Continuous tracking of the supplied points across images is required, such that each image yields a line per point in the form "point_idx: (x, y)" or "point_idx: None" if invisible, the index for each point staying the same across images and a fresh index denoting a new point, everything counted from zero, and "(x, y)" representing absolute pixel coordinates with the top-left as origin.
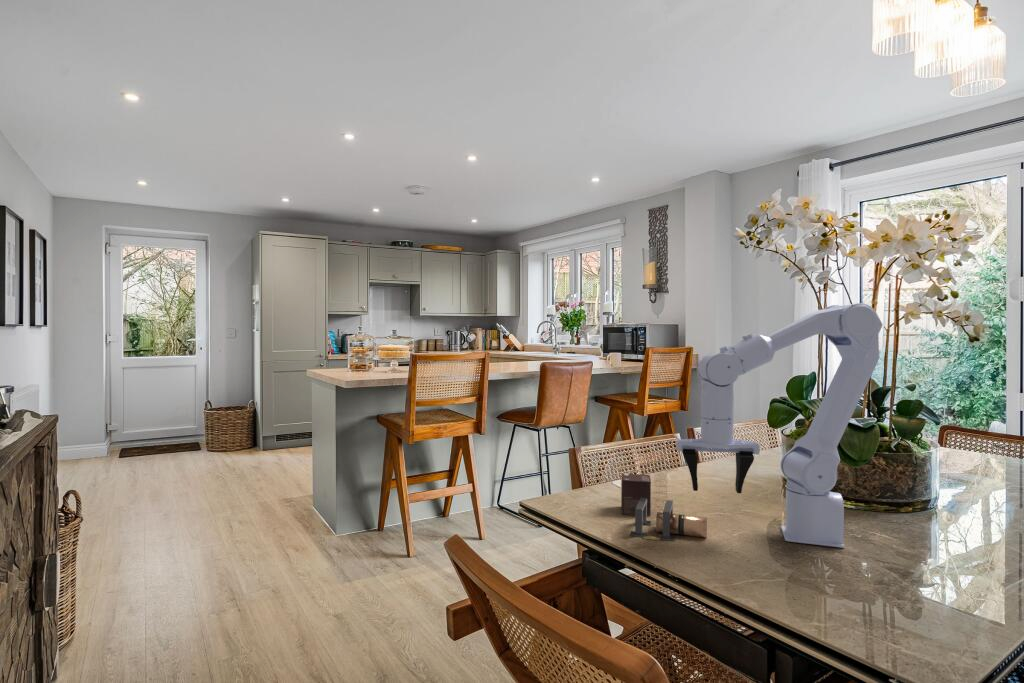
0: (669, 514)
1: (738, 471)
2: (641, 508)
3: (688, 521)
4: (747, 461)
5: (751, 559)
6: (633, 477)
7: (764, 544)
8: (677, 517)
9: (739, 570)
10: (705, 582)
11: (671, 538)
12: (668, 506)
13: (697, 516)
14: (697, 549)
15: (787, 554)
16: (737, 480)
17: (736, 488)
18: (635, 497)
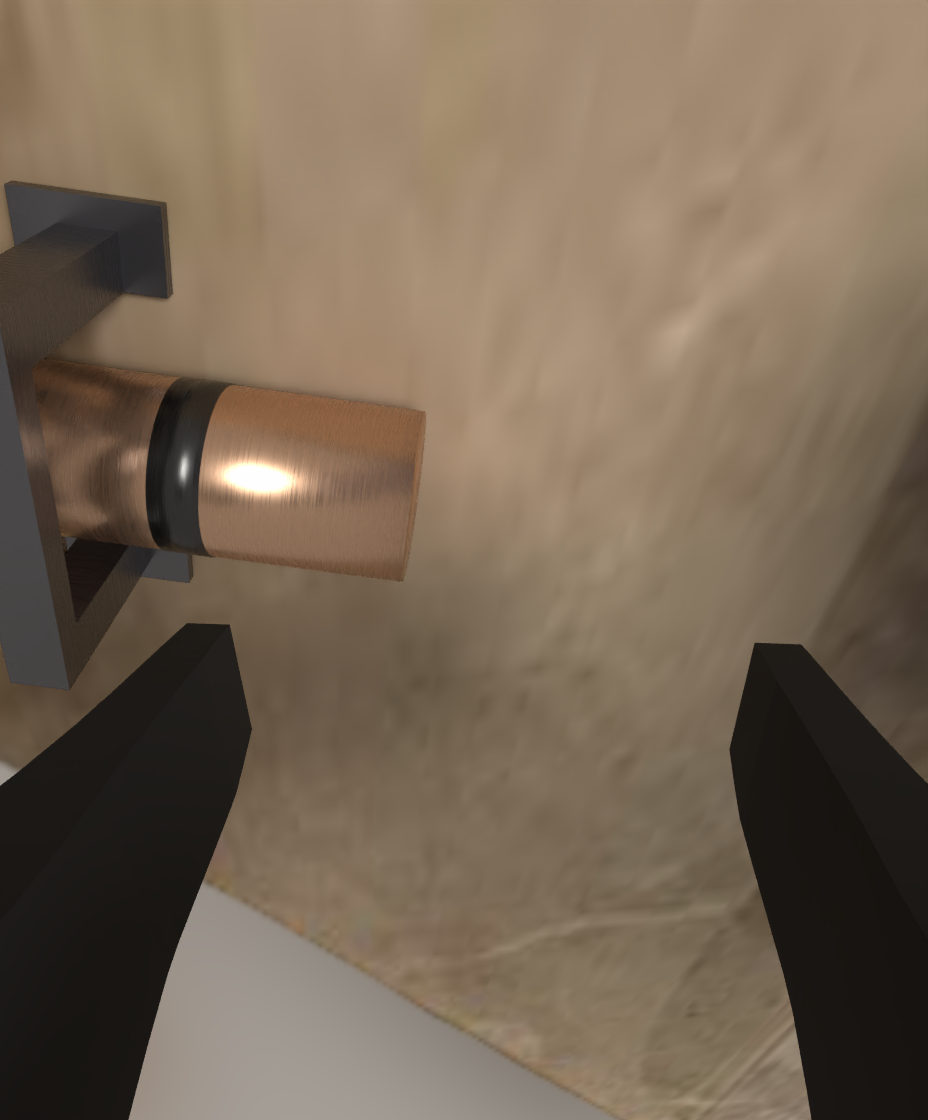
0: (76, 677)
1: (822, 1012)
2: None
3: (250, 560)
4: None
5: (647, 751)
6: None
7: (844, 519)
8: (145, 538)
9: (543, 861)
10: (376, 955)
11: (167, 566)
12: (12, 540)
13: (319, 520)
14: (348, 672)
15: (918, 659)
16: (782, 842)
17: (751, 723)
18: None
